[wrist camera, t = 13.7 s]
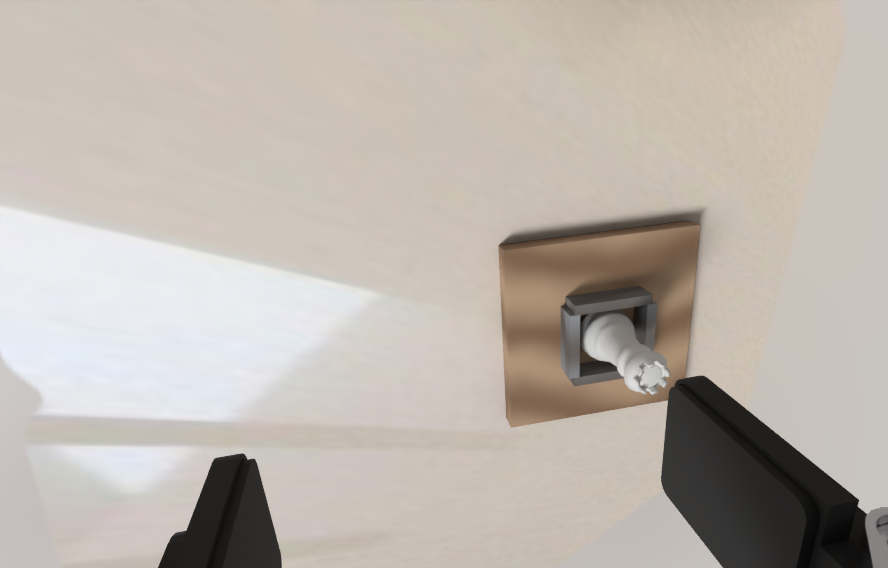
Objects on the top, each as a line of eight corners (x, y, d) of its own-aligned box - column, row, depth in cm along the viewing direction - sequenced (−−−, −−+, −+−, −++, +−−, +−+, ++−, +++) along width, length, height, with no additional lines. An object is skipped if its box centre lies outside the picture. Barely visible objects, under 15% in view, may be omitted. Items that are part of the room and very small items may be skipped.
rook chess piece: (574, 356, 43) (620, 411, 36) (575, 307, 41) (624, 354, 34) (624, 349, 44) (680, 401, 36) (627, 300, 42) (686, 345, 35)
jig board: (498, 245, 40) (511, 258, 37) (688, 220, 42) (717, 231, 39) (506, 417, 46) (518, 442, 43) (673, 388, 48) (696, 410, 45)
